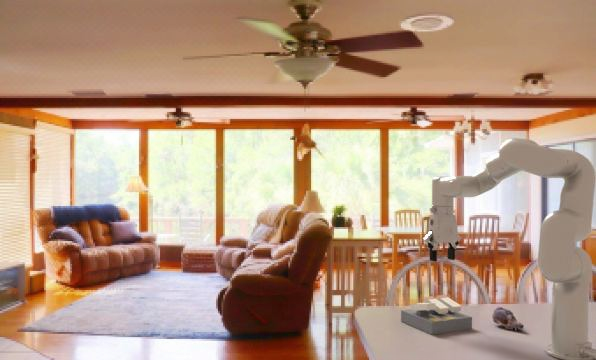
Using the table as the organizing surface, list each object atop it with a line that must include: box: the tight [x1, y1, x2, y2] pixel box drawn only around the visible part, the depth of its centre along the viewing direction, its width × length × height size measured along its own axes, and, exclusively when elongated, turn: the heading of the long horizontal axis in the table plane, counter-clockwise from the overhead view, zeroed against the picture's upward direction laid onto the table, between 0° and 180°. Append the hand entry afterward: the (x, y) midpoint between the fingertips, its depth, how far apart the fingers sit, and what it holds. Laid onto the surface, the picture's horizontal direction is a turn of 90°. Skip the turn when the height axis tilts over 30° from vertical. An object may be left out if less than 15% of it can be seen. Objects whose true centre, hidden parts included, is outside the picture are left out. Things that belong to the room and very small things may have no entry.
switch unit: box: [400, 308, 473, 336], centre depth 181 cm, size 17×17×5 cm
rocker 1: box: [410, 302, 436, 310], centre depth 179 cm, size 9×4×2 cm, turn 24°
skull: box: [491, 306, 524, 332], centre depth 179 cm, size 12×8×6 cm, turn 12°
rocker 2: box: [422, 295, 449, 314], centre depth 181 cm, size 9×4×2 cm, turn 24°
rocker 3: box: [435, 294, 462, 313], centre depth 184 cm, size 9×4×2 cm, turn 25°
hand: (442, 259), depth 187 cm, fingers open, 7 cm apart
